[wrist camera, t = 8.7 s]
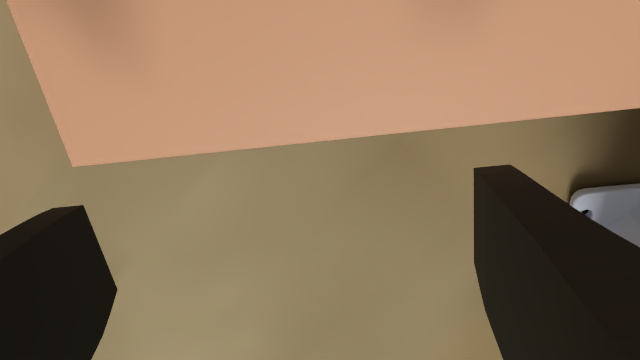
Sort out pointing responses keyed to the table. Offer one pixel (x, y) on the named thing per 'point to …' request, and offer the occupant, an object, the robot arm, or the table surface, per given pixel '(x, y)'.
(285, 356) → the table surface
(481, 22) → the lid
